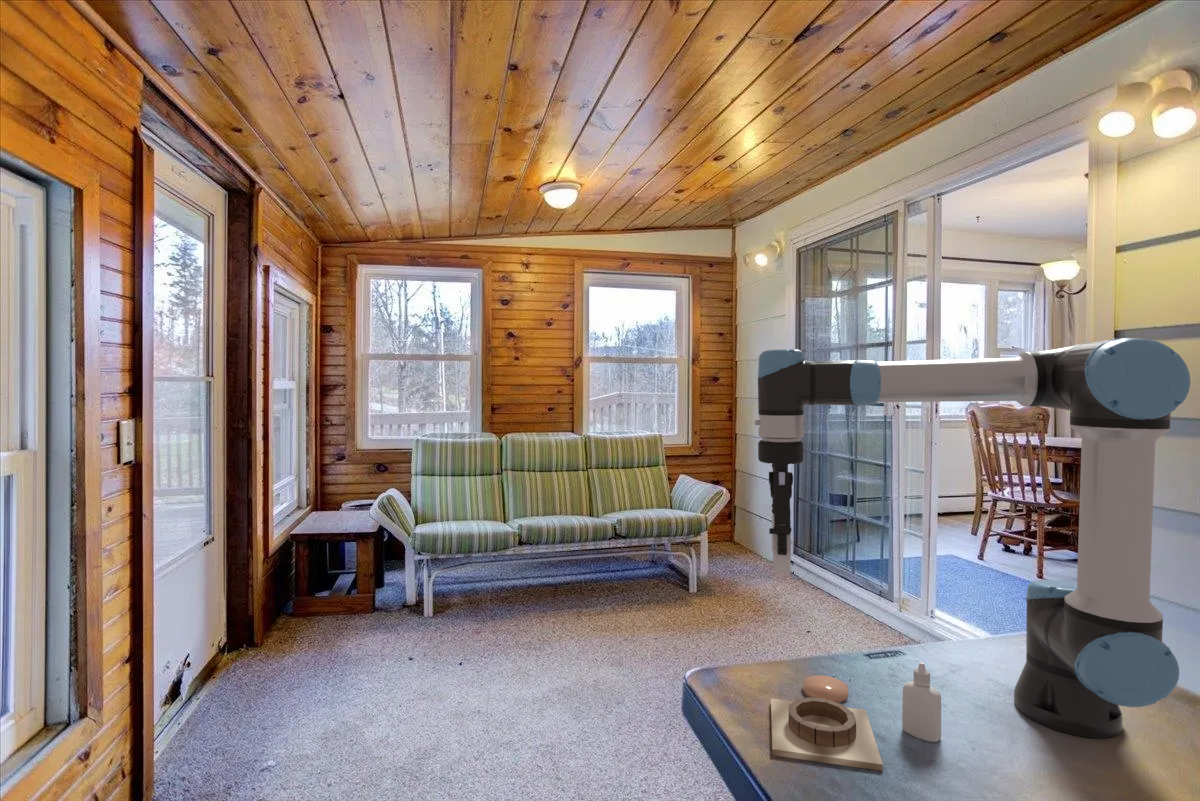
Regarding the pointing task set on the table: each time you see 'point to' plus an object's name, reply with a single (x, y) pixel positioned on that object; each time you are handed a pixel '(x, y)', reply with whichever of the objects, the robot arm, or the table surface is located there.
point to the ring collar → (823, 733)
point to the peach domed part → (825, 688)
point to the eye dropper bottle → (921, 707)
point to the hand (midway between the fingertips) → (780, 561)
